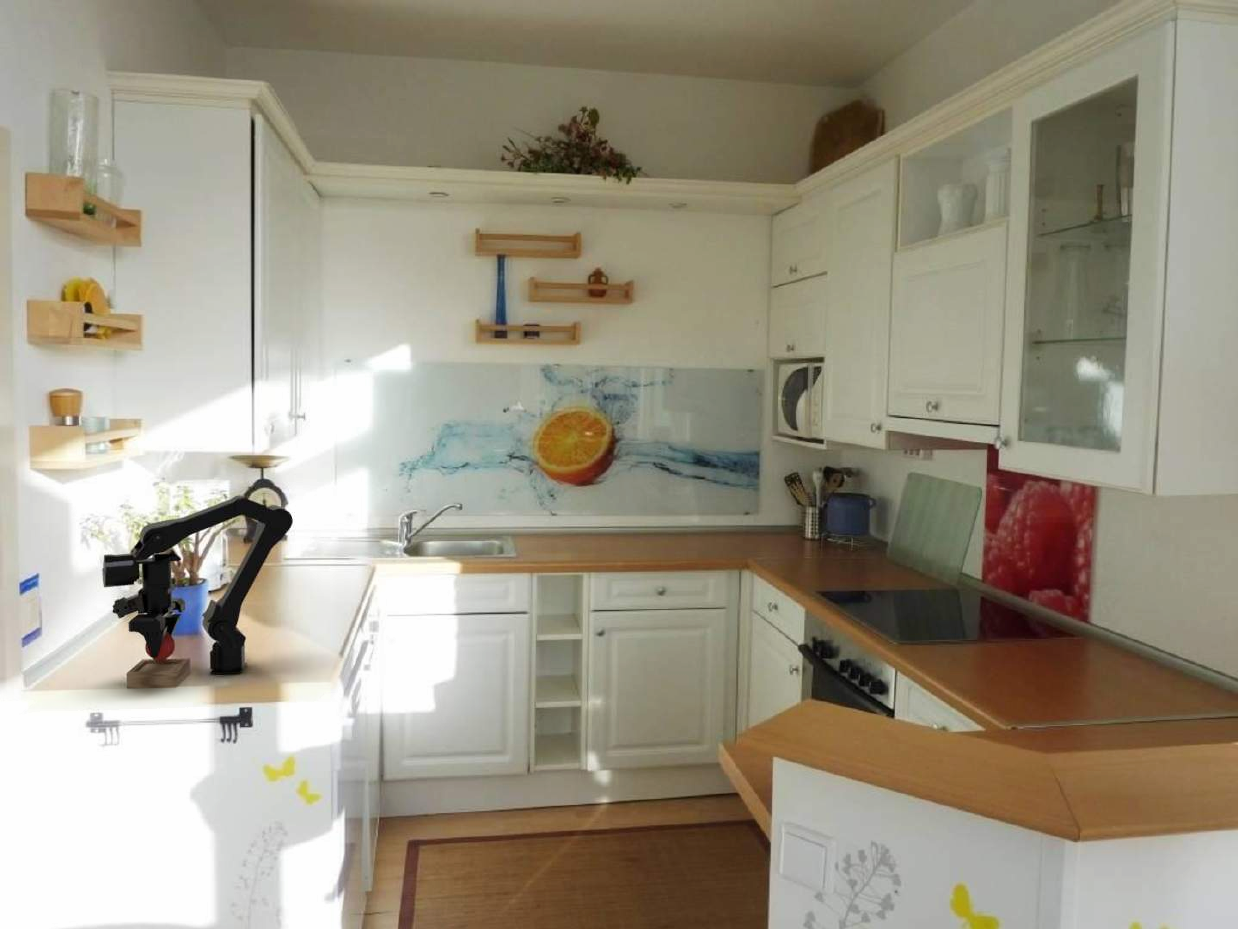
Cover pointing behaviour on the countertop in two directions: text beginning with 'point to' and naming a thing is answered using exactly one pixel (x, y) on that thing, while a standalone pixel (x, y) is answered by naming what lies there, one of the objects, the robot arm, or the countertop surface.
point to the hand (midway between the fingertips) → (159, 653)
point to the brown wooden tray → (158, 673)
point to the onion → (164, 648)
